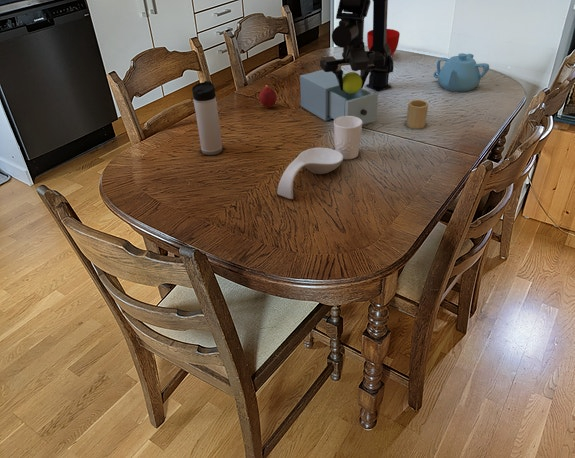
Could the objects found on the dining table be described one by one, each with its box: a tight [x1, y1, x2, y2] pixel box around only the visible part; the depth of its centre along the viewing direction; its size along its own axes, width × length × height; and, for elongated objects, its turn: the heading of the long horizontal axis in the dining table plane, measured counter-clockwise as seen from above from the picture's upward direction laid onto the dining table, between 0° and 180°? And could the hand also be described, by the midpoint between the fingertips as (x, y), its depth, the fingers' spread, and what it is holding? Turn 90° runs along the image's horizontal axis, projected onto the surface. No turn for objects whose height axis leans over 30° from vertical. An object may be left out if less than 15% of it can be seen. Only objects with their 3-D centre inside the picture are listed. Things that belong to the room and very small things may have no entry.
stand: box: [405, 99, 429, 130], centre depth 155 cm, size 6×6×7 cm
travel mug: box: [191, 80, 224, 156], centre depth 142 cm, size 6×7×20 cm
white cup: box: [333, 116, 363, 160], centre depth 140 cm, size 8×8×10 cm
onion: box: [258, 84, 278, 109], centre depth 169 cm, size 6×6×8 cm
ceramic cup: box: [366, 28, 401, 57], centre depth 203 cm, size 13×17×10 cm
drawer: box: [328, 87, 379, 126], centre depth 157 cm, size 15×12×9 cm
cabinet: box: [299, 69, 347, 122], centre depth 166 cm, size 15×13×11 cm
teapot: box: [433, 52, 490, 93], centre depth 178 cm, size 15×17×11 cm
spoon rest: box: [276, 147, 344, 200], centre depth 131 cm, size 24×12×7 cm, turn 146°
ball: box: [343, 71, 362, 94], centre depth 153 cm, size 6×6×6 cm
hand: (351, 89), depth 154 cm, fingers closed on ball, 6 cm apart
